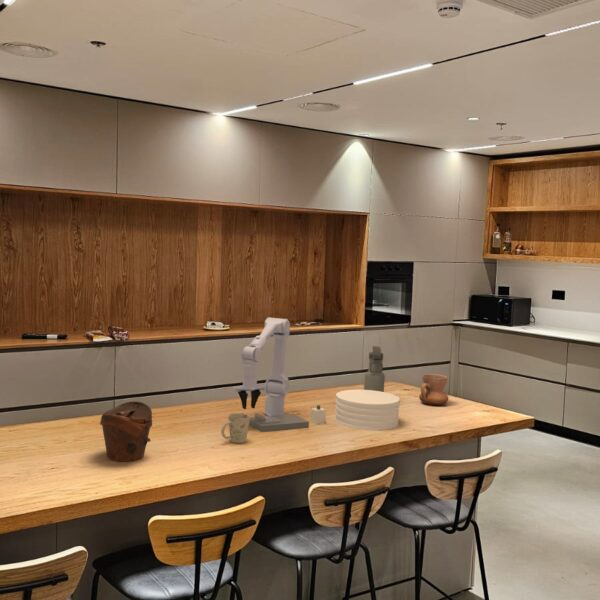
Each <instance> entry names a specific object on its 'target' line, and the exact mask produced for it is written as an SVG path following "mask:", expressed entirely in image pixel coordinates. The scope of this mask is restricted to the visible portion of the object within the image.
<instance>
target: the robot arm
mask: <svg viewBox="0 0 600 600" xmlns="http://www.w3.org/2000/svg"><path fill="white" fill-rule="evenodd" d="M290 330H291V324H290V321H289V319H288V318H280V317H279V318H278V317H276V318H275V317H271V316H269V317H267V318H266V319H265V320H264V328H263V329H262V331H261V333H260V335H256V336H255V337H254V338H253V340H252V341H251V342H249V345H247V346H245V347H243V348H242V351H241V359H242V364H243V369H242V370H243V374H242V385H238V386H232V387H231V388H232V392H233V393H238V396H239V398H240V401H241V406H242V409H244V410H246V409H247V403H248V402H247V401H248V396H249V394H248V393H247V392H250V396H251V397H250V408H252V409H255V408H256V405H257V402H258V400H259V398H260V396H261V394H262V392H261V391H265V394H266V395H265V399H264V410H262V413H263V414H265V416H272V415H284V414H285V413H284V412H285V398H286V396H287V395H288V393H289V391H290V380H289V378H288V377H287V375H285V374H284V367H285V355H286V346H287V345H286V344H287V338H288V337H290V333H291V332H290ZM272 336H273V338H274V345H273V359H272V368H271V369H272V370H271V371H272V372H271V373H270V374H269V375H267V377H266V380H265V383H264V384H258V365H259V361H260V359H261V356H262V354H263V350H264V349H265V348H266V346H267V345H268V340H269V339H270V338H271V337H272Z"/></svg>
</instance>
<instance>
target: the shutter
mask: <svg viewBox="0 0 600 600" xmlns="http://www.w3.org/2000/svg"><path fill="white" fill-rule="evenodd" d="M263 416H264V417H263ZM254 417H255V419H256V420H258V421H260V422H261V423H274V422H280V420H278V419H277V418H275V417H273V416H268V415H261V414H259V413H254Z"/></svg>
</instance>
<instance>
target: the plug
mask: <svg viewBox="0 0 600 600" xmlns="http://www.w3.org/2000/svg"><path fill="white" fill-rule="evenodd" d="M326 412H327V410H326V408H323V407H321V404H320V405H319V404H317V405H316V407H315V408H314V407H313V408H311V409H310V422H311V423H312V424H314V425H320V424H326V416H327V415H326V414H327V413H326Z"/></svg>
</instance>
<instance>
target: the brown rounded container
mask: <svg viewBox="0 0 600 600" xmlns="http://www.w3.org/2000/svg"><path fill="white" fill-rule="evenodd" d="M152 414H153V412H152V408H151V407H150V406H149V405H148V404H146V403H144V402H141V401H137V400H136V401H128V402H124V403H121V404H119V405H117V406H115V407H113V408H110V409H109V410H107V411H106V412H104V413H102V415H101V418H100V422H99V424H100V426H102V427H101V428H102V433H103V438H104V439H103V440H104V444H105V445H104V446H105V450H106V457H107V458H108V459H109V460H110V461H114V462H133V461H137V460H140V459H142V458H143V457H144V456H145V451H146V448H147V445H148V442H151V439H150V438H149V435H150V429H151V427H153V415H152Z"/></svg>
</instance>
